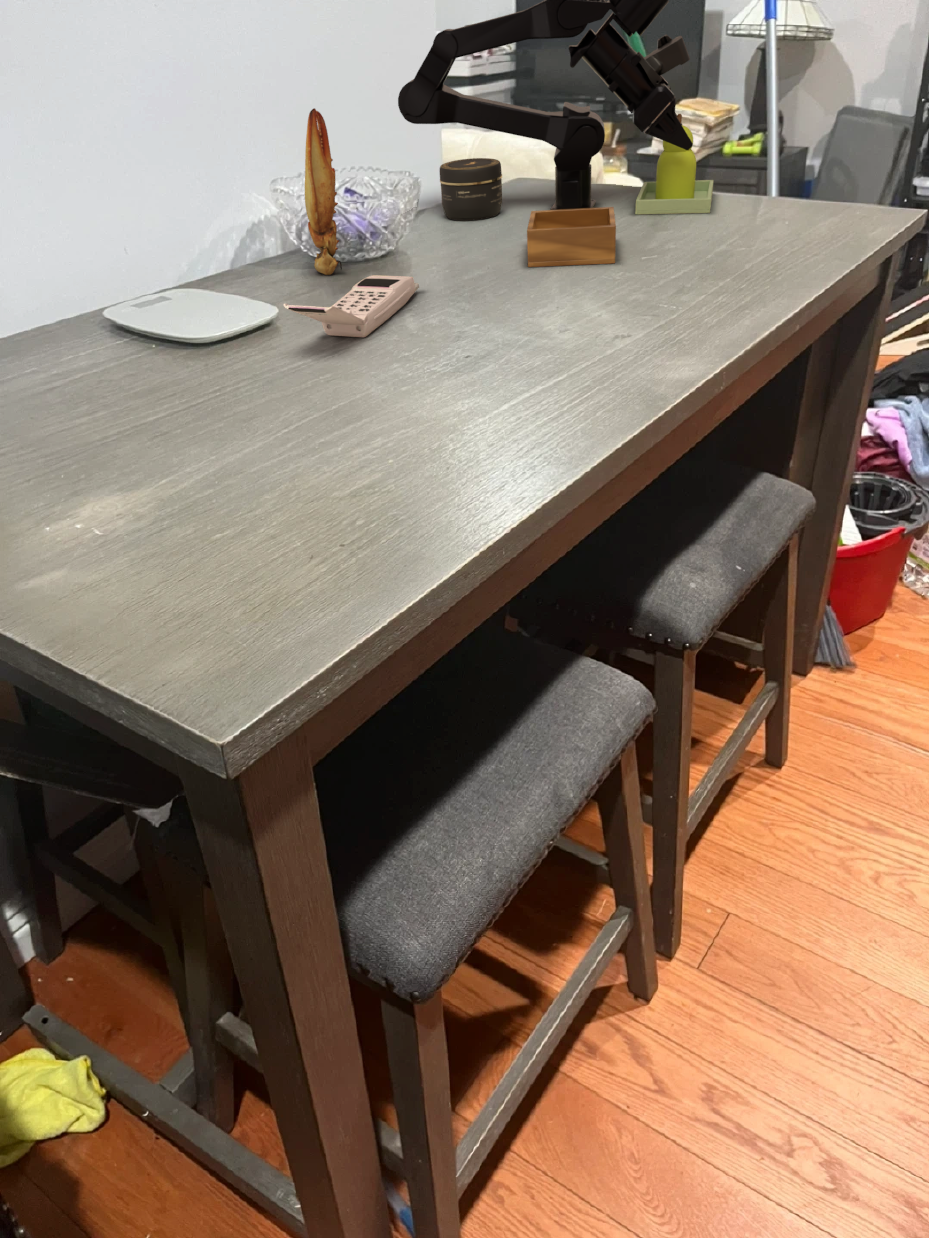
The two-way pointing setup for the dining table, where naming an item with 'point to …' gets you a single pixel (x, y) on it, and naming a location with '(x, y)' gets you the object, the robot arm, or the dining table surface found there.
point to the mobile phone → (362, 306)
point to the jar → (471, 188)
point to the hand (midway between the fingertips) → (688, 142)
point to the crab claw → (320, 193)
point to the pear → (676, 171)
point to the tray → (675, 200)
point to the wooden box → (571, 237)
